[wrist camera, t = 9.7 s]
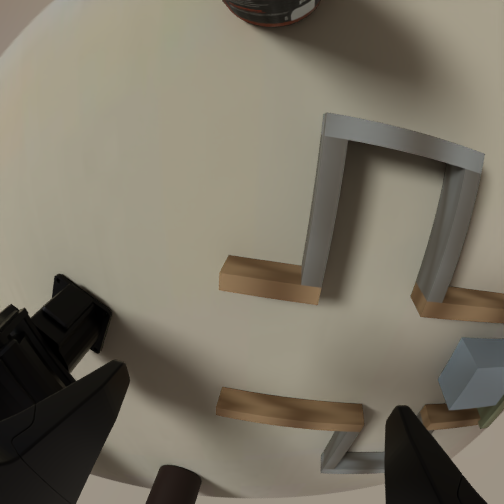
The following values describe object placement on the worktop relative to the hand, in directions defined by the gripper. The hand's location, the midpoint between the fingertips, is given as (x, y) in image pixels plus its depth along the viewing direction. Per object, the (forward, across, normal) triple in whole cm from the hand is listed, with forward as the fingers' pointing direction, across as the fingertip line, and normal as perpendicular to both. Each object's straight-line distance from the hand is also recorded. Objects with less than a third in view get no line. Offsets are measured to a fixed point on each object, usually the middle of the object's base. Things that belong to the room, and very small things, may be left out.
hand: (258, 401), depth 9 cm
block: (+12, -19, +8) cm, 24 cm away
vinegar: (+12, +10, +40) cm, 43 cm away
